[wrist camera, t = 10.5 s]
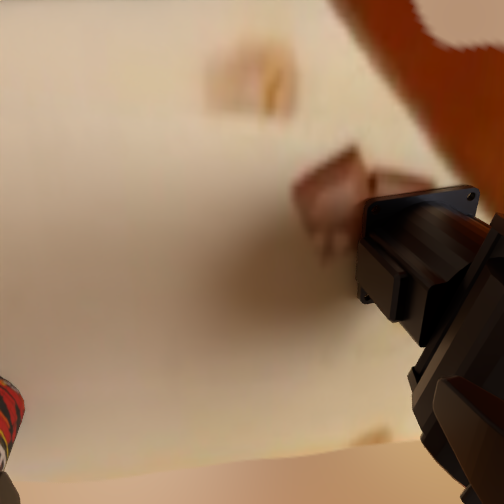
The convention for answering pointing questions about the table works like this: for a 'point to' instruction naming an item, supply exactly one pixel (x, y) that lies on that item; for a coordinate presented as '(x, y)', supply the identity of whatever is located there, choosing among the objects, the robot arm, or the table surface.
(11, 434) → the deodorant
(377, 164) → the table surface
